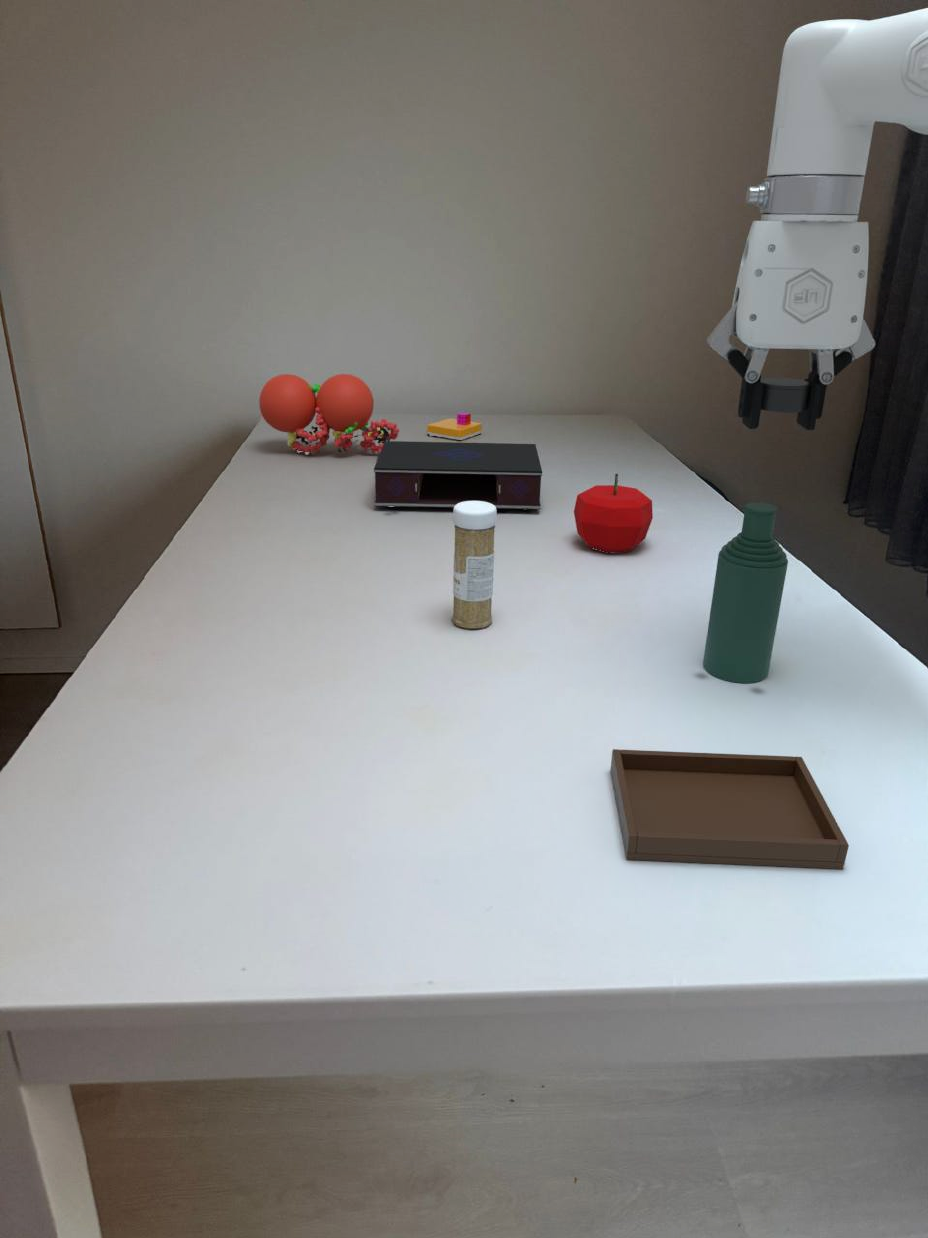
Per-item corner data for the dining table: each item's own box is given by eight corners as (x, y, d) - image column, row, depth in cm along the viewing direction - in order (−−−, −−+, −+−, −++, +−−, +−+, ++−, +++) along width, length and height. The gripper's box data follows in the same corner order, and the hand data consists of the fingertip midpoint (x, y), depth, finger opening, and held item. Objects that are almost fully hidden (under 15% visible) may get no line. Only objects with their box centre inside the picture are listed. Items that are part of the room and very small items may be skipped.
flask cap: (813, 408, 81) (817, 381, 80) (792, 414, 78) (796, 387, 77) (768, 401, 83) (771, 376, 82) (746, 408, 80) (750, 381, 80)
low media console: (540, 514, 136) (542, 471, 134) (374, 511, 137) (373, 468, 134) (533, 482, 152) (535, 443, 150) (385, 479, 152) (384, 440, 150)
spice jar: (448, 614, 102) (450, 499, 97) (488, 612, 103) (492, 498, 97) (455, 631, 98) (457, 512, 93) (496, 629, 99) (500, 511, 93)
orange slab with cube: (460, 441, 179) (460, 419, 177) (427, 435, 183) (427, 414, 181) (481, 434, 185) (482, 413, 183) (449, 428, 189) (449, 408, 187)
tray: (797, 778, 74) (801, 756, 73) (843, 869, 64) (849, 845, 63) (610, 770, 74) (612, 748, 73) (626, 859, 64) (629, 835, 63)
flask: (759, 655, 94) (786, 497, 87) (775, 684, 88) (806, 518, 81) (697, 653, 95) (719, 495, 88) (709, 682, 89) (734, 516, 82)
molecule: (256, 461, 161) (249, 372, 158) (271, 461, 172) (265, 377, 169) (396, 455, 160) (391, 365, 157) (402, 455, 171) (398, 371, 168)
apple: (575, 530, 130) (580, 461, 126) (650, 536, 128) (657, 467, 124) (567, 555, 121) (572, 482, 117) (648, 562, 119) (656, 488, 115)
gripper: (716, 200, 71) (690, 434, 78) (935, 202, 70) (888, 437, 77) (698, 202, 78) (675, 416, 85) (897, 203, 77) (857, 419, 84)
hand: (777, 424), depth 81 cm, fingers closed on flask cap, 4 cm apart
